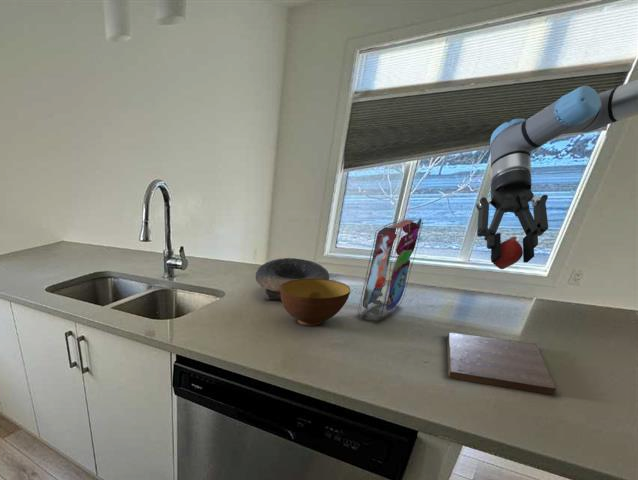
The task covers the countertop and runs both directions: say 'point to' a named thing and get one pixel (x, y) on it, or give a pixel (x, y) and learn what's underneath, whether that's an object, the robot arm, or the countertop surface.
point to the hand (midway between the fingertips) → (512, 259)
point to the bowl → (313, 299)
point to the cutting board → (498, 363)
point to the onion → (509, 253)
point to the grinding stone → (287, 274)
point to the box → (382, 261)
